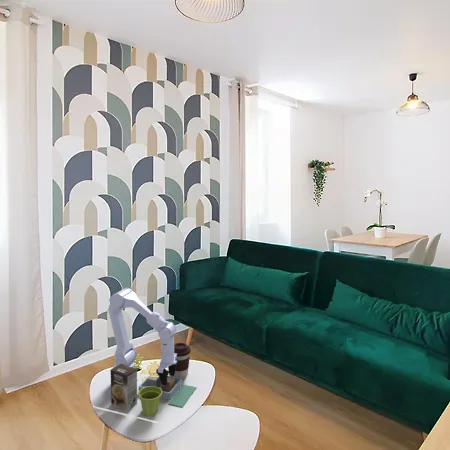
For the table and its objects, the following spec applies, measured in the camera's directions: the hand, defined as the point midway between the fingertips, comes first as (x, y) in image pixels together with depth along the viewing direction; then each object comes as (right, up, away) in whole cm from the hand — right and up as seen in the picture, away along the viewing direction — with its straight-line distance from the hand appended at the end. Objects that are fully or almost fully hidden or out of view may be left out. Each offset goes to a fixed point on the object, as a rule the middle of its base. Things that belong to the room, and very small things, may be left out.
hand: (167, 380), depth 165 cm
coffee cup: (+4, -4, +14) cm, 15 cm away
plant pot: (-5, -8, -14) cm, 16 cm away
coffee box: (-17, -7, -10) cm, 20 cm away
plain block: (-7, -4, +3) cm, 9 cm away
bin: (-3, -5, +2) cm, 6 cm away
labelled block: (0, -5, +1) cm, 5 cm away
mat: (+7, -6, -3) cm, 10 cm away
